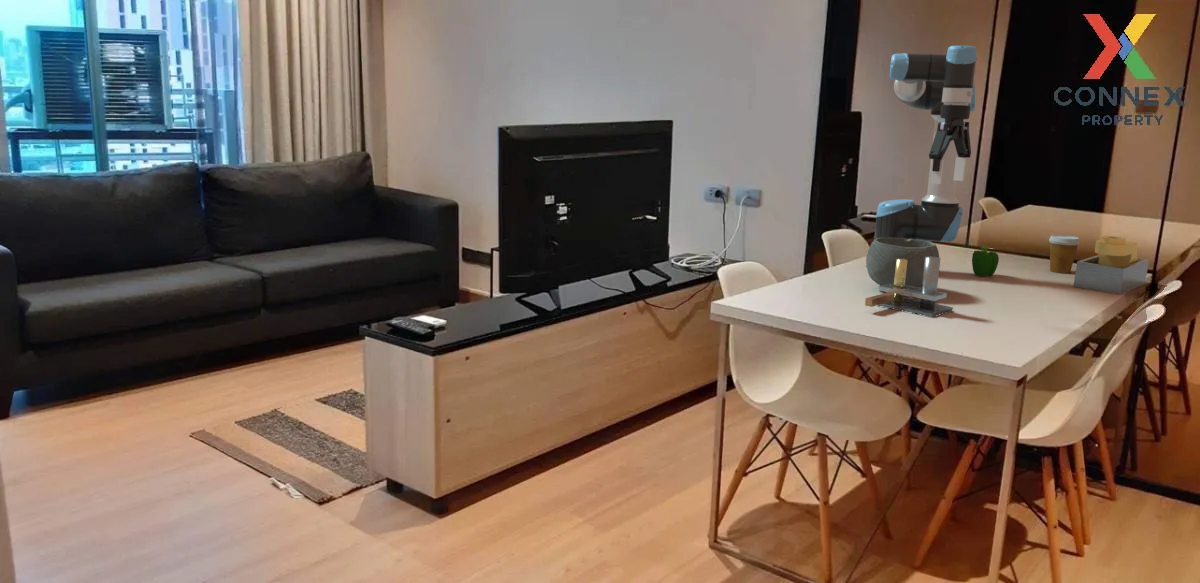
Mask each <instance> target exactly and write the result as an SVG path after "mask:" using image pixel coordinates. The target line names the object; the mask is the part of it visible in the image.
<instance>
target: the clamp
mask: <svg viewBox="0 0 1200 583" xmlns="http://www.w3.org/2000/svg"><path fill="white" fill-rule="evenodd" d="M1094 253H1096V254H1098V255H1100V256H1099V262H1098V264H1099V265H1106V266H1112V267H1119V268H1123V267H1126V266H1128V265H1131V264H1134V263H1137V262H1138V258H1139V256H1138V253H1139V252H1138V242H1137V241H1131V240H1127V239H1126V237H1121V236H1116V235H1115V236H1114V235H1101V236H1100V239H1096V241H1095V246H1094Z"/></svg>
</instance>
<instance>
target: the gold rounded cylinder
mask: <svg viewBox="0 0 1200 583" xmlns="http://www.w3.org/2000/svg"><path fill="white" fill-rule="evenodd" d="M907 261H908V260H907V259H896V268H895V277H894V287H893V288H899V289H905V279H906V270H907ZM904 296H905V295H900V294H895V295H894V301H893V302H903V298H905V297H904Z"/></svg>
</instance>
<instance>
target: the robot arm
mask: <svg viewBox="0 0 1200 583" xmlns="http://www.w3.org/2000/svg"><path fill="white" fill-rule="evenodd" d="M947 48H948V49H947V52H946V53H930V54H929V53H907V52H902V53H894V54H892V55H891V59H890V68H889V69H890V70H889V79H890V80H892V81H894V83H893V91H894V92H893V93H894V95H895V97H896V98H897V99H898V101H900V102H901V103H903V104H904V105H905V106H909V107H911V108H913V109H919V110H930V117H931V118H932V119H933V120H934V128H933V138H932V143H931V148H930V150H929V154H928V156H929V157H928V158H929V160H930V165H929V175H928V182H927V183H928V184H927V191H926V192H927V193H926V195H925V196H924V197H922V198H921V203H920V204H916V202H915V200H914V199H907V198H906V199H905V198H904V199H901V198H900V199H890V200H884V201H881V202H879V204H878V206H877V211H876V214H875V217H876V219H875V227H874V228H875V230H874V238H873V241H874V240H875V239H876V238H885V237H892V238H905V239H914V240H923V241H931V242H938V243H941V242H942V243H946V242H947V243H952V242H954V241H955V240H956V238H957V237H958V236H957V235H958V233H959V229H960V226H961V223H962V219H963V218H962V216H963V213H964V209H963V207H961V206H960V201H959V200H958V199H957V197H956V189H957V182H958V181H959V182H965V174H966V173H965V172H966V165H967V158H971V156H972V148H971V139H970V122H969V121H967V120H969V119H970V116H971V115H970V114H971V112H972V113H973V112H974V111H975V109H976V108H975V107H976V104H975V103H976V90H975V88H976V86H975V85H976V84H975V72H976V64H977V59H978V58H977V53H978V52H977V51H978V49H977V47H976V46H974V45H951V46H949V47H947ZM865 264H866V263H865ZM866 268H867V264H866Z"/></svg>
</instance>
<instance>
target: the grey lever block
mask: <svg viewBox="0 0 1200 583" xmlns="http://www.w3.org/2000/svg"><path fill="white" fill-rule="evenodd" d="M940 266H941V257H940V256H939V257H934V256H926V257H925V262H924V272H923V281H922V288H920V287H914V286H909V285H905V289H899V288H893V287H894V282H893V283H889V284H885V285H881V286H880V285H879V286H878V291H880V292H884V293H881V294H876V295H873V296H869V297H866V298H865V301H864V306H866V307H870V308H873V307H876V305H879V306H878V307H880V306H884V307H883V308H885V307H889V308H888V309H890V308H894V309H898V310H897V311H899V310H903V311H902V312H904V311H907V312H906V313H908V312H912V313H911V314H913V313H917V314H916V315H918V314H921V315H920V316H922V315H925V316H924V317H927V316H930V317H929V318H934V317H933V316H935V317H937V316H936V315H938V316H940V315H939V314H941V315H943V314H942V313H944V314H946V313H945V312H947V313H950V312H952V310H954V307H953V306H948V305H943V304H938V303H937V301H939V300H942V299H945V298H947V297H948V293H947V292H942V291H938V283H939V275H940ZM895 294H900V295H904V296H905V297H904V298H903V302H893V301H894V295H895ZM908 297H911V298H908ZM914 298H918V299H919V300H918V299H914ZM894 309H893V310H894ZM949 311H950V312H949Z"/></svg>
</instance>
